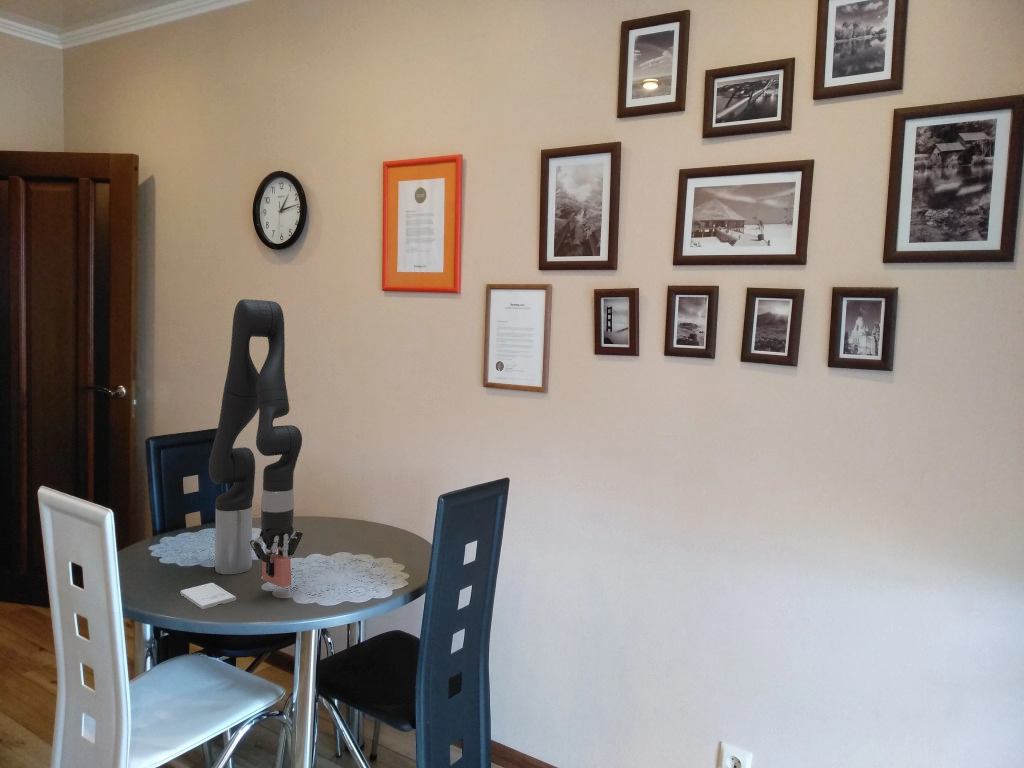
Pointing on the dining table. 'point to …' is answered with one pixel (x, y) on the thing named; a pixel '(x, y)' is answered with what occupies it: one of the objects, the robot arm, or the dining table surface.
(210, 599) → the external hard drive
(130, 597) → the dining table surface
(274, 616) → the dining table surface
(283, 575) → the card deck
